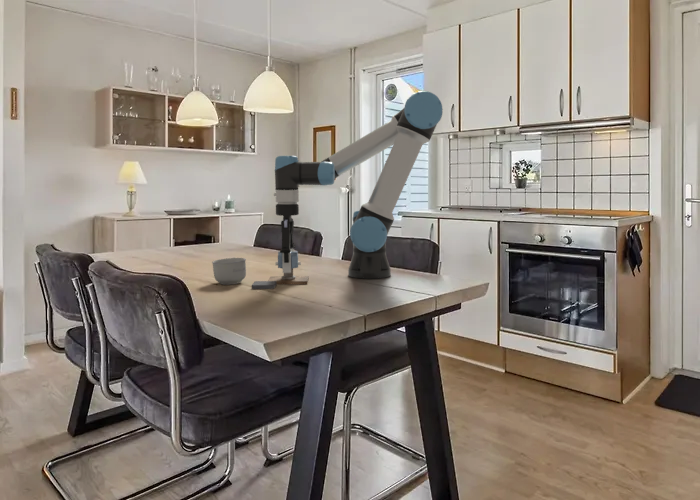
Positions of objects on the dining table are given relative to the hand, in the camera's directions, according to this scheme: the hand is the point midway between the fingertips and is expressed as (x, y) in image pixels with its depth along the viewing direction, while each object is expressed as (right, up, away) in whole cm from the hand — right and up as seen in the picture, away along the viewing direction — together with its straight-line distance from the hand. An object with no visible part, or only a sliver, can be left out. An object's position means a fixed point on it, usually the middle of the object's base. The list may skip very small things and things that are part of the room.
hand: (288, 269), depth 179 cm
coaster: (-7, -5, -8) cm, 12 cm away
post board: (0, -4, 0) cm, 4 cm away
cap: (0, +1, 0) cm, 1 cm away
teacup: (-19, -4, 0) cm, 19 cm away
